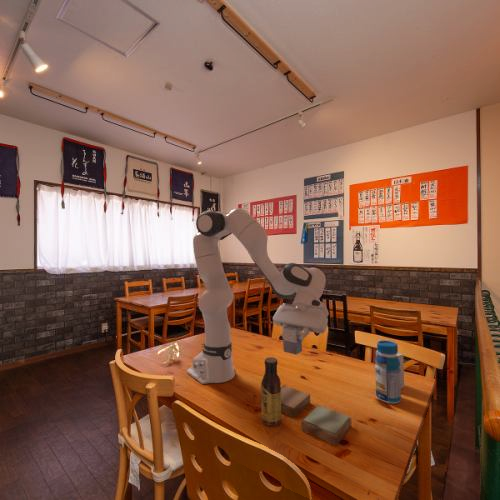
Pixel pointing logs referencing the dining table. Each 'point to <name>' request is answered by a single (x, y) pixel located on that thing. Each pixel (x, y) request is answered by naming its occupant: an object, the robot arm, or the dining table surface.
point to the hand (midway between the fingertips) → (291, 338)
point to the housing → (292, 340)
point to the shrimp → (171, 352)
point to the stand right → (326, 424)
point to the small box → (400, 357)
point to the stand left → (293, 401)
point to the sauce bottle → (271, 394)
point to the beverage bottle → (388, 372)
